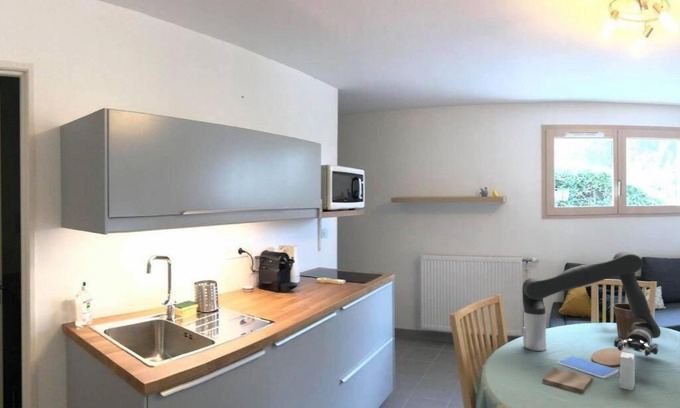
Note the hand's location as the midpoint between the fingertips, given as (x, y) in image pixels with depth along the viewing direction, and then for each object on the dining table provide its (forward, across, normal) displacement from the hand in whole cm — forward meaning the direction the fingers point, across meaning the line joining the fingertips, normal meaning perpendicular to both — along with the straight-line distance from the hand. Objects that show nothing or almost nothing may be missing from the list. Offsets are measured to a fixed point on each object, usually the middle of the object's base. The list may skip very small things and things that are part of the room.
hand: (632, 350), depth 162 cm
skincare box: (+11, 0, +11) cm, 15 cm away
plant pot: (-53, -8, +11) cm, 55 cm away
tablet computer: (+1, -16, +11) cm, 20 cm away
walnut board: (+21, -18, +10) cm, 30 cm away
